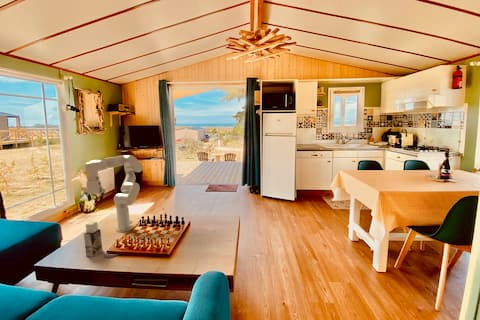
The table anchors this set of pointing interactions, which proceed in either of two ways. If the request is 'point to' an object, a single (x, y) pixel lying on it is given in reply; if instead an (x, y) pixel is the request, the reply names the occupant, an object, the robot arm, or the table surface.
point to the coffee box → (93, 243)
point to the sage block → (91, 227)
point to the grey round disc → (110, 255)
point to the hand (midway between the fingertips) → (95, 200)
